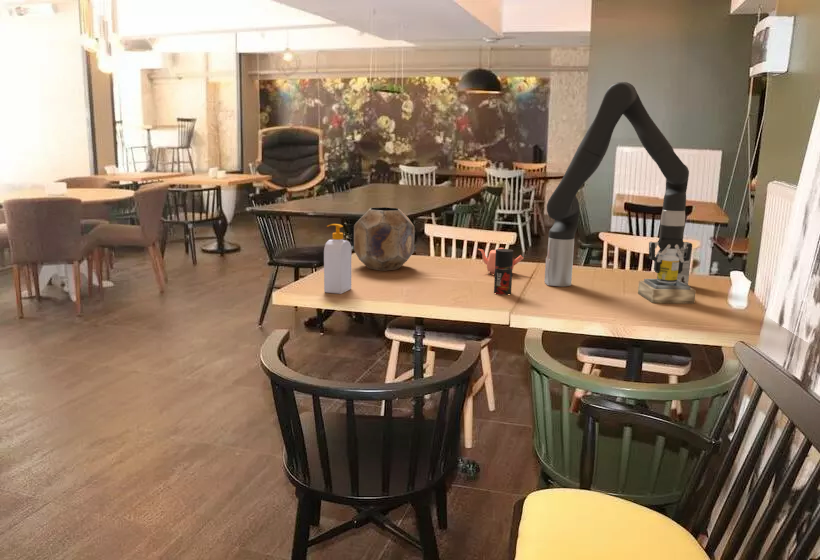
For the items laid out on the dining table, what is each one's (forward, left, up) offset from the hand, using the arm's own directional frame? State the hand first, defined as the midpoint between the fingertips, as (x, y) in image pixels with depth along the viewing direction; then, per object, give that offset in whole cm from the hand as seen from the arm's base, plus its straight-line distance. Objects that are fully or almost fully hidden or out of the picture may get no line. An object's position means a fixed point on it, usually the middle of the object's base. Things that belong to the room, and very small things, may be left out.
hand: (667, 272), depth 229 cm
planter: (-97, +47, -9) cm, 108 cm away
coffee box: (+12, +20, -9) cm, 25 cm away
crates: (0, 0, -9) cm, 9 cm away
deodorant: (-55, +4, -9) cm, 56 cm away
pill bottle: (0, 0, -3) cm, 3 cm away
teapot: (-51, +39, -9) cm, 65 cm away
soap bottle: (-112, +4, -9) cm, 112 cm away
